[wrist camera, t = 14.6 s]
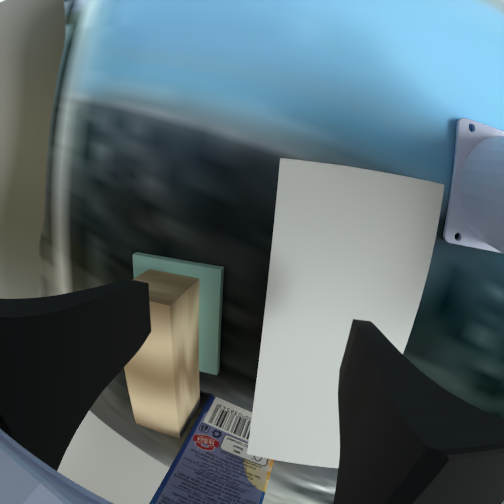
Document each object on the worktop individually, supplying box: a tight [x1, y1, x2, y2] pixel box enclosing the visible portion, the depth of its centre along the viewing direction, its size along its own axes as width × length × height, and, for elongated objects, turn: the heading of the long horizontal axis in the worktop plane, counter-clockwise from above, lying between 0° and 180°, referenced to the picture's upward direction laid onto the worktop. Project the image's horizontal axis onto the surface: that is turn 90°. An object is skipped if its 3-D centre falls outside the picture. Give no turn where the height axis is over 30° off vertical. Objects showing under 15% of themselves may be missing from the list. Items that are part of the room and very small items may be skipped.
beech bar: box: [124, 269, 200, 439], centre depth 21 cm, size 12×4×4 cm, turn 175°
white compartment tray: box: [247, 158, 444, 468], centre depth 17 cm, size 7×18×6 cm, turn 175°
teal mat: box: [133, 252, 224, 375], centre depth 23 cm, size 7×9×1 cm
